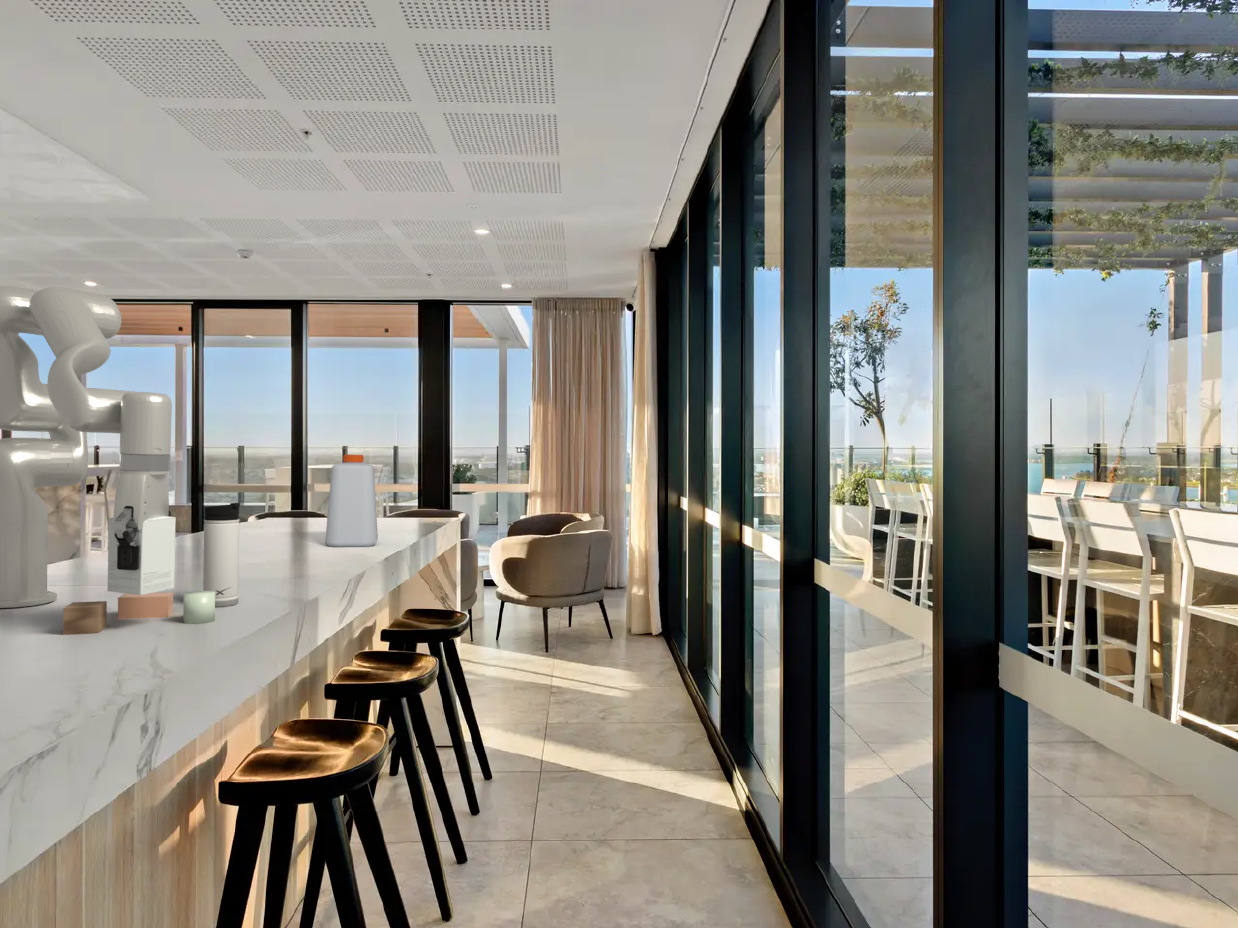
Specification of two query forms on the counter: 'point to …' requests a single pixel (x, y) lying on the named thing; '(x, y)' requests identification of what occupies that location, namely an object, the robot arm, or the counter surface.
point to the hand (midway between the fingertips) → (142, 564)
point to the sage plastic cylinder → (199, 607)
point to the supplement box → (145, 558)
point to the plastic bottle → (352, 504)
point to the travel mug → (222, 553)
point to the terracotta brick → (145, 605)
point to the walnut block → (84, 617)
